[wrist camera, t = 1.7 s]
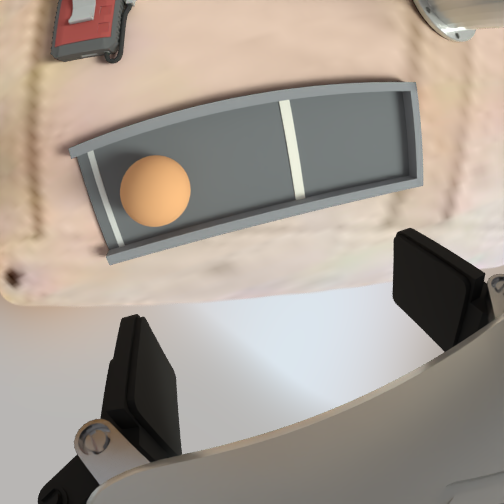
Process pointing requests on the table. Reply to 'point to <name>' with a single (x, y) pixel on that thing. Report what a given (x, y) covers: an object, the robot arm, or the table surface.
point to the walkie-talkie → (90, 29)
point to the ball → (155, 191)
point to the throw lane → (260, 159)
